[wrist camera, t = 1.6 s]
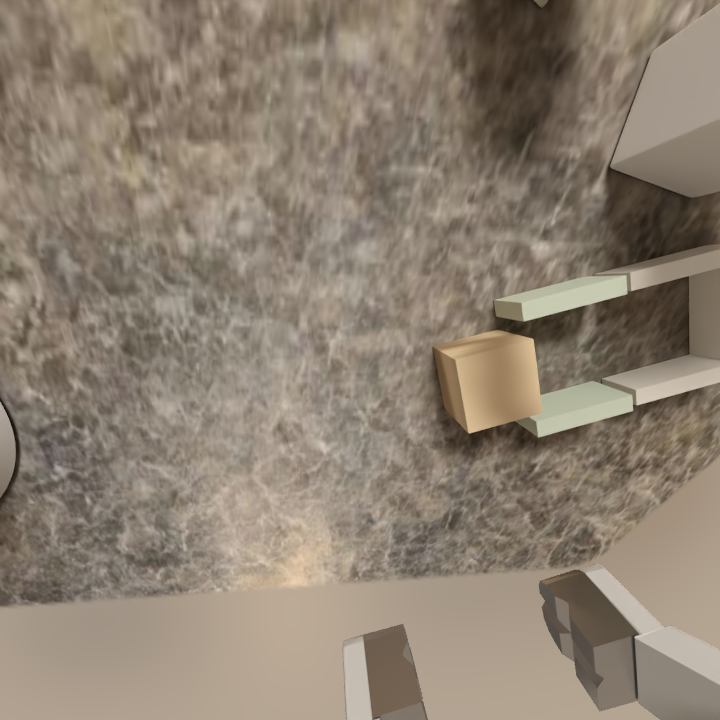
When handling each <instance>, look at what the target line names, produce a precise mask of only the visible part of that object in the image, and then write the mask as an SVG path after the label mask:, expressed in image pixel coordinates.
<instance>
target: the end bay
mask: <svg viewBox="0 0 720 720" xmlns="http://www.w3.org/2000/svg"><path fill="white" fill-rule="evenodd" d="M622 275H626V277H627V291H634V290H638V289H642V288H645V287H649V286H653V285H657V284H660V283H664V282H668V281H672V280H676V279H679V278H683V277H687V276H689V355H685V356H681V357H678V358H674V359H671V360H667V361H663V362H660V363H656V364H652V365H649V366H645V367H641V368H638V369H634V370H631V371H627V372H623V373H620V374H616V375H612V376H609V377H605V378H602V384H603V385H606V386H609V387H611V388H614V389H617V390H620V391H622V392H625V393H628V394H631V395H632V398H633V404H634V405H636V406H637V405H641V404H644V403H648V402H651V401H655V400H658V399H662V398H665V397H669V396H673V395H676V394H680V393H683V392H687V391H690V390H694V389H698V388H701V387H705V386H708V385H712V384H715V383H719V382H720V244H715V245H706V246H701V247H697V248H693V249H689V250H685V251H681V252H677V253H674V254H670V255H666V256H662V257H658V258H654V259H651V260H647V261H643V262H639V263H635V264H631V265H627V266H624V267H620V268H616V269H612V270H608V271H604V272H600V273H597V274H594V276H622Z"/></svg>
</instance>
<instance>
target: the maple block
mask: <svg viewBox="0 0 720 720" xmlns="http://www.w3.org/2000/svg"><path fill="white" fill-rule="evenodd" d="M433 351H434V356H435V361H436V366H437V371H438V376H439V381H440V386H441V391H442V397H443V402H444V407H445V410H446V411H447V412H448V413H449V414H450V415H451V416H452V417H453V418H454V419H455V420H456V421H457V422H458V423H459V424H460V425H461V426H462V427H463V428H464V429H465V430H466V431H467V432H468V433H473V432H477V431H480V430H484V429H487V428H491V427H495V426H498V425H502V424H505V423H509V422H512V421H516V420H520V419H523V418H527V417H530V416H534V415H538V414H541V413H542V405H541V397H540V388H539V380H538V372H537V364H536V355H535V347H534V339H532V338H528V337H524V336H520V335H516V334H512V333H509V332H505V331H501V330H494V331H490V332H487V333H483V334H479V335H475V336H471V337H468V338H464V339H460V340H456V341H453V342H449V343H445V344H441V345H438V346H434V347H433Z"/></svg>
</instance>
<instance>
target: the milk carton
mask: <svg viewBox="0 0 720 720" xmlns="http://www.w3.org/2000/svg"><path fill="white" fill-rule="evenodd" d="M610 168H612V169H614V170H617V171H619V172H622V173H625V174H627V175H630V176H633V177H636V178H638V179H641V180H644V181H646V182H649V183H652V184H655V185H657V186H660V187H663V188H665V189H668V190H671V191H674V192H676V193H679V194H682V195H684V196H687V197H691V198H694V197H699V196H703V195H707V194H712V193H716V192H720V4H718V5H717V6H715V7H714V8H713V9H711V10H710V11H708V12H707V13H706V14H704V15H703V16H701V17H700V18H698V19H697V20H696V21H694V22H693V23H691V24H690V25H689V26H687V27H686V28H684V29H683V30H682V31H680V32H679V33H677V34H676V35H675V36H673V37H672V38H670V39H669V40H668V41H666V42H665V43H663V44H662V45H661V46H659V47H658V48H656V49H655V50H654V51H653V52H652V54H651V56H650V59H649V62H648V64H647V67H646V70H645V72H644V75H643V78H642V81H641V83H640V86H639V89H638V91H637V94H636V97H635V99H634V102H633V105H632V107H631V110H630V113H629V116H628V118H627V121H626V124H625V126H624V129H623V132H622V135H621V137H620V140H619V143H618V145H617V148H616V151H615V154H614V156H613V159H612V162H611V164H610Z"/></svg>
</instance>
